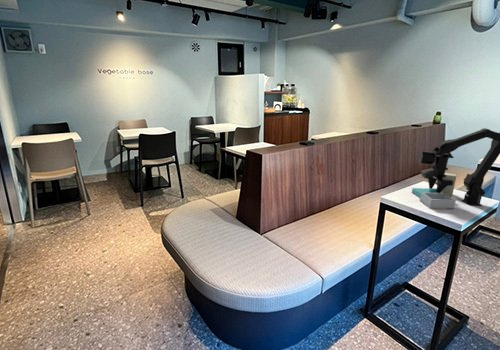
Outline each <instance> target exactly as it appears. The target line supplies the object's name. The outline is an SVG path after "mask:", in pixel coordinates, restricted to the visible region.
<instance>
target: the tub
mask: <svg viewBox="0 0 500 350" xmlns="http://www.w3.org/2000/svg"><path fill="white" fill-rule="evenodd" d="M419 202H420V203H422V204H423V205H424V206H425V207H427V208H428V209H431V210H432V209H435V210H436V209H437V210H454V209H455V204H456V202H457V201H456V199H454V198H453V197H452V196H448V195H446V194H445V193H424V192H421V197H420V198H419Z"/></svg>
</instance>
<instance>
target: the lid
mask: <svg viewBox="0 0 500 350" xmlns="http://www.w3.org/2000/svg"><path fill="white" fill-rule="evenodd" d="M436 190H437V188H434V187H433V188H429V187H428V188H423V187H422V188H421V187H420V188H419V187H418V188H417V187H412V189H411V193H412V192H413V193H415V194H416V195H417V196H419V197H421V192H424V193H436ZM413 193H412V194H413ZM440 193H442V192H440ZM415 194H414V195H415ZM416 195H415V196H416ZM417 196H416V197H417ZM419 197H418V198H419Z"/></svg>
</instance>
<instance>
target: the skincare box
mask: <svg viewBox="0 0 500 350" xmlns="http://www.w3.org/2000/svg"><path fill="white" fill-rule="evenodd" d="M445 175H446V177H443V178H449V179H451V180H452V181H453V185H452V186H446V187H445V188H444V189H443V190H442V191H441V192H442V193H445V194H446V195H448V196H450V197H452V196H453V193H454V190H455V185H456V179H457V177H458V176H457V175H458V174H454V173H449V172H445Z"/></svg>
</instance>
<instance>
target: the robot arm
mask: <svg viewBox="0 0 500 350" xmlns="http://www.w3.org/2000/svg"><path fill="white" fill-rule="evenodd" d="M485 138H489V139H492V140H491V143H490V148H489V150H488V152H487V153H486V154H485V155H484V157H483V158H482V160H481V162H480V163H479V164H478V165H477V168H476V169H475V171H474V172H472V173H471V174H470V173H467V174H466V176H465V178H463V186H464V187H465V189H466V190H467V191H466V192H465V194H464V197H463V199H461V201H462V202H463V203H465V204H466V205H469V206H479V207H480V206H482V205H483V204H482V203H481V202H482V201H481V200H482V198H483V196H484V195H485V194H486V191H485V190H484V189H483V188H482V186H483V184H484V181H485V180H484V179H485V176H486V175H487V173H488V172H489V171H490V169H491V167H492V166H493V165H494V164H495V162H496V161H497V159H498V157H499V156H500V131H499V132H497V131H493V130H491V129H489V128H487V127H486V128H481V129H480V130H476V131H473V132H472V133H471V132H470V133H468V134H466V135H463V136H461V137H457V138H454V139H447V140H442V141H439V142H438V143H437V146H435V148H433V149H432V150H431V151H425V150H421V153H420V155H419V156H418V163H419V164H426V165H431V167H430V168H426V169H422V170H420V173H421V174H420V175H421V177H423V178H424V179H427V181H428V189H429V188H434V186H435V185H436V189H437V190H436V193H440V192H441V191H442V190H443V189H444V188H445V187H446V186H452V185H453V181H452V180H451V179H449V178H443V177H446V175H445V173H446V171H449V167H447V166H448V161H449V159H454V156H453V155H452V152H454V151H455V150H457V149H458V148H460V147H462V146H465V145H468V144H472V143H474V142H477V141H479V140H483V139H485Z"/></svg>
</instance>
